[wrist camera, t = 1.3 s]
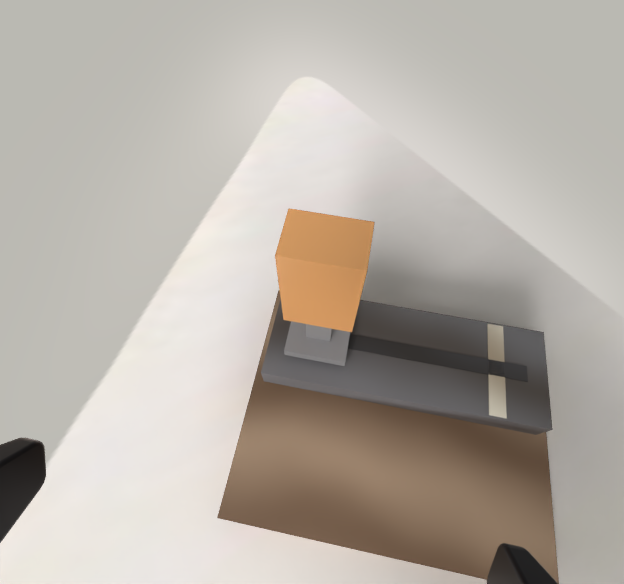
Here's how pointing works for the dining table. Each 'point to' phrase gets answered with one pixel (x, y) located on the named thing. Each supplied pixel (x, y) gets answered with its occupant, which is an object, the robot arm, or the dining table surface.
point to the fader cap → (321, 281)
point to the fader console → (402, 441)
